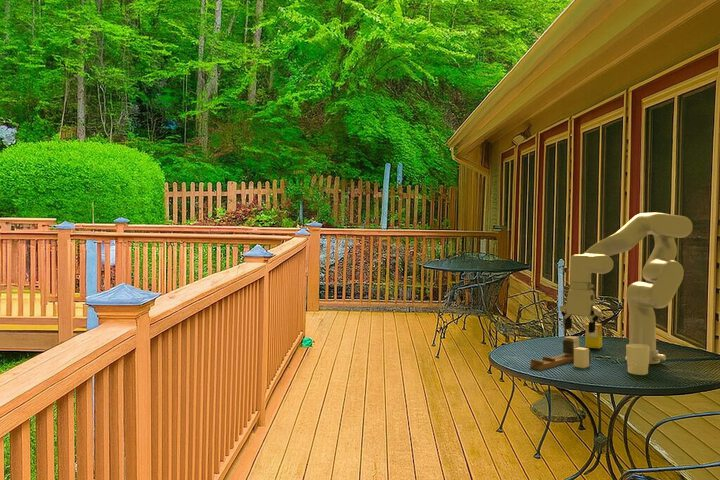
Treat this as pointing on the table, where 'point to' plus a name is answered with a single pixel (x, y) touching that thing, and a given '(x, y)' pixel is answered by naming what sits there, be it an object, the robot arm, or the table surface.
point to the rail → (558, 360)
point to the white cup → (637, 358)
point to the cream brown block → (582, 357)
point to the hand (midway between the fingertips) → (579, 330)
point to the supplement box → (594, 337)
